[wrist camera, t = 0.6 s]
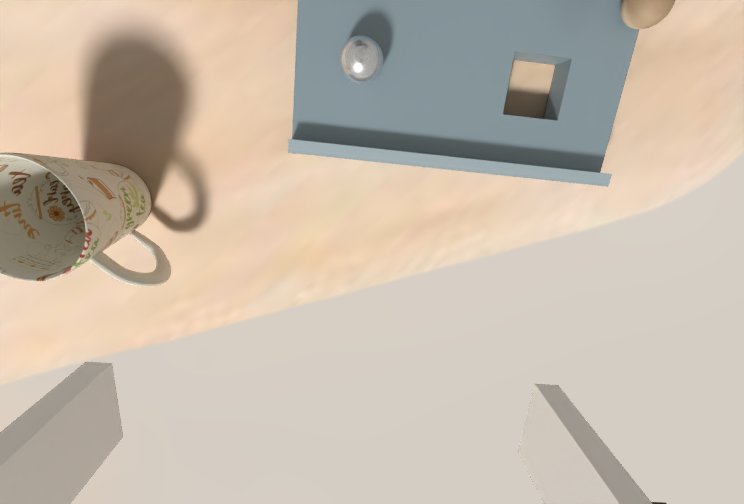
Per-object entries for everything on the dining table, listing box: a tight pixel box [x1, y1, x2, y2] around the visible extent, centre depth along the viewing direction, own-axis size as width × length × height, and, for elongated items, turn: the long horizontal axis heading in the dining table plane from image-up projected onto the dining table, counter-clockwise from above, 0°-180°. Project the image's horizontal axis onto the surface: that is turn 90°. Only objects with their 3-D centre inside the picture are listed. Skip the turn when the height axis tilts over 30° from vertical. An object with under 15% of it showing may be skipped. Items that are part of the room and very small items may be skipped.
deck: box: [288, 0, 639, 186], centre depth 29 cm, size 16×26×4 cm, turn 84°
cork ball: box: [620, 0, 675, 29], centre depth 26 cm, size 3×3×3 cm
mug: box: [0, 153, 171, 287], centre depth 29 cm, size 8×13×10 cm, turn 46°
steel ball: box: [339, 35, 383, 85], centre depth 27 cm, size 3×3×3 cm
